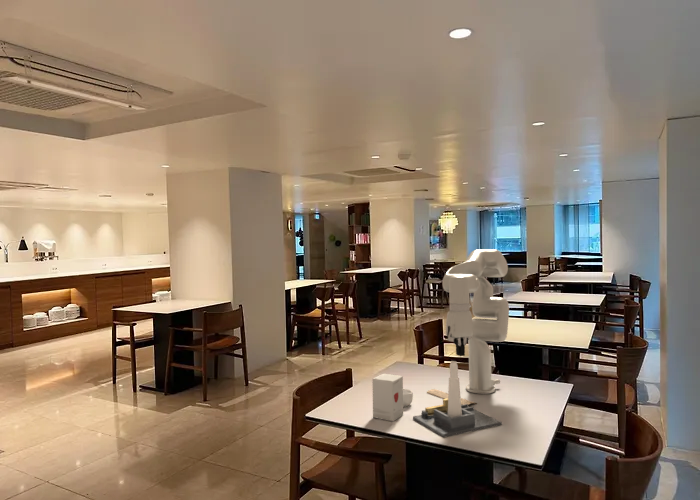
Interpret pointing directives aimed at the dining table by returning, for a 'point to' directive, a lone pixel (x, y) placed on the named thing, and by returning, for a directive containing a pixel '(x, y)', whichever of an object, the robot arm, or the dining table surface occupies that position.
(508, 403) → the dining table surface
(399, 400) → the supplement box
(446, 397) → the newspaper
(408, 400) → the teacup
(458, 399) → the cosmetic bottle
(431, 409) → the wooden block
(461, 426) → the cradle
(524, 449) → the dining table surface
